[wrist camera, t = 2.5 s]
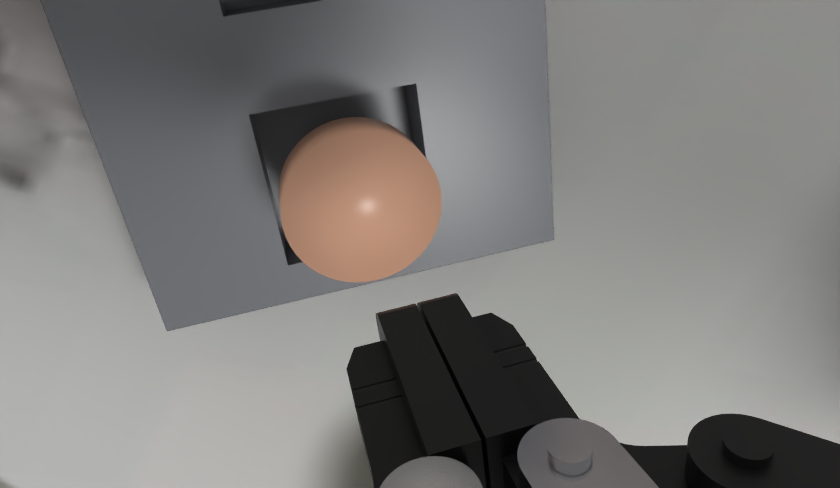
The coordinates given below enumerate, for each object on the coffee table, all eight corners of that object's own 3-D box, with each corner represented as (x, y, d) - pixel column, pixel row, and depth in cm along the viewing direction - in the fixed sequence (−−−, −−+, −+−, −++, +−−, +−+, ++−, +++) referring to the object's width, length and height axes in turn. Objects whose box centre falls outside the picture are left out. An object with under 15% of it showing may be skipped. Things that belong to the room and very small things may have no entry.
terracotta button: (398, 85, 21) (431, 115, 17) (416, 210, 23) (450, 262, 19) (260, 111, 20) (262, 149, 16) (292, 237, 22) (300, 298, 18)
